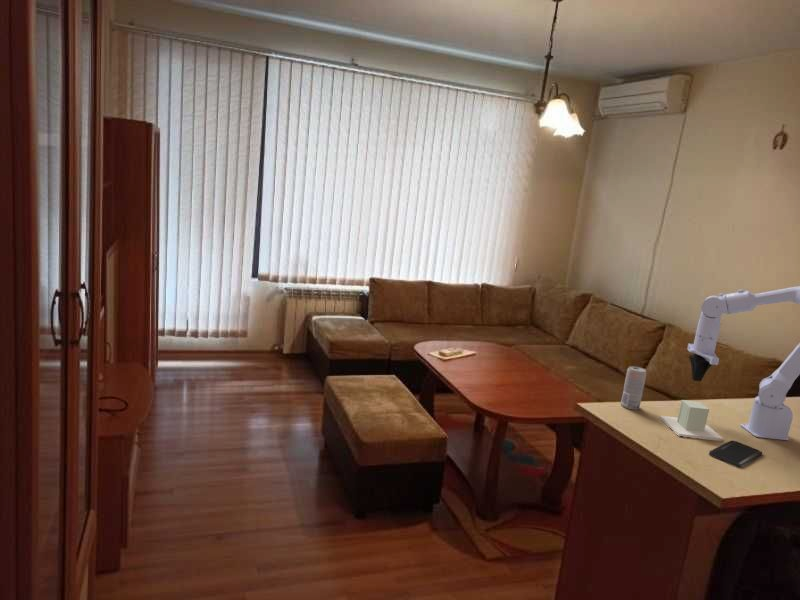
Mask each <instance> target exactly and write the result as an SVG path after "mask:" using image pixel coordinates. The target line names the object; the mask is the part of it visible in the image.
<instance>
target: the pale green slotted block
mask: <svg viewBox="0 0 800 600" xmlns="http://www.w3.org/2000/svg"><path fill="white" fill-rule="evenodd" d="M709 413H710V409H709V407H707V406H706V405H705V404H703V402H701V401H694V400H685V399H681V401H680V405H679V411H678V414H677V417H678V418H677V422H678V423H679V424H680V425H681V426H682V427H683V428H684V429H685V430H693V431H703V432H704V430H705V425H707V421H708V417H709Z"/></svg>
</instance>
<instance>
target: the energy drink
mask: <svg viewBox="0 0 800 600" xmlns="http://www.w3.org/2000/svg"><path fill="white" fill-rule="evenodd" d="M646 378H647V369H646V368H643V367H640V366H635V365H630V366H628V368H627V369H626V374H625V380H624V385H623V391H622V396H621V399H620V400H621V401H620V406H622V407H623V408H625V409H628V410H633V411H636V410H639V409H640V406H641V404H642V403H641V402H642V397H643V394H644V393H643V392H644V389H645V388H644V387H645V382H646Z"/></svg>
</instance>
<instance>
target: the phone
mask: <svg viewBox="0 0 800 600" xmlns="http://www.w3.org/2000/svg"><path fill="white" fill-rule="evenodd" d="M708 456H710V457H712V458H714V459H716V460H719V461H721V462H724V463H726V464H728V465H731V466H733V467H735V468H739V469H741V468H743V467H745V466H746V465H749V464H750V463H751V462H752V463H753V461H755V460H757V459H759V458H760V457H762V456H763V451H761V450H759V449H756V448H754V447H752V446H749V445H747V444H744V443H741V442H739V441H736V440H730V441H727V442H725V443H723V444H722V445H720V446H717V447H715V448H713V449H711V450H709V452H708Z"/></svg>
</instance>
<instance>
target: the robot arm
mask: <svg viewBox="0 0 800 600" xmlns="http://www.w3.org/2000/svg"><path fill="white" fill-rule="evenodd" d="M785 302H786V303H787V302H791V303H794V304H798V305H800V285H798V286H792V287H786V288H781V289H776V290H775V289H774V290H771V291H764V292H759V293H753V292H751V291H750V290H745V291H744V289H738V290H737V292H733V293H732V292H731V293H725V294H724V293H723V292H722V293H718V295H710V296H708V297H706V298H705V299H704V300H703V301H702V303H701V313H700V315H699V319H698V323H697V328H696V331H695V336H694V340H693V343H687V348H686V350H688V352H689V353H692V354H689V355H688V358H689V362H690V366H691V367H690V369H691V380H693V381H694V382H701V381H702V380H703V378H704V377H705V375H706V373H707V371H708V370H709V369H710V367H712V366H718V365H719V362H720V358H719V357H718V356H717V355H716V353H715V351H716V346H717V341H718V337H719V334H720V328H721V324H722V323H721V320H722V316H723V314H726V315H730V314H731V315H732V314H737V313H738V314H739V313H745V312H746V313H747V312H750V311H751V312H752V311H753V310H755V308H756V307H757V306H762V305H763V306H764V305H771V304H779V303H785ZM799 376H800V342H799V343H798V344H797V345H796V347H795V348H794V349H793V350H792V351H791V353H789V355H788V356H787V357H786V359H784V361H783V362H782V364H781V365H780V366H779V367H778V368H776V370H775V371H773V372H772V373H771V374H770V375H769V376H768V377H765V378H762V380H761V381H760V382H759V386H758V390H759V391H758V396H755V397H754V400H753V404H752V407H751V411H750V415H749V420H748V423H740V426H741V427H742V428H744V429H745V430H746V431H747V432H749V433H750V434H752V435H753V436H754V437H756V438H761V439H762V438H763V439H772V440H781V441H790V438H789V437H788V436H789V433H790V430H791V425H792V422H793V418H794V417H793V416H794V415H793V411H792V409H791V407H790V406H788V405H786V404H785V401H786V397H787V394H788V393H789V390H791V388H792V386H793V384H794V382H795V380H797V378H798V377H799Z"/></svg>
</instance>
